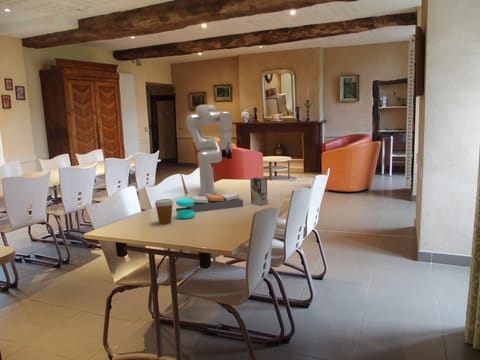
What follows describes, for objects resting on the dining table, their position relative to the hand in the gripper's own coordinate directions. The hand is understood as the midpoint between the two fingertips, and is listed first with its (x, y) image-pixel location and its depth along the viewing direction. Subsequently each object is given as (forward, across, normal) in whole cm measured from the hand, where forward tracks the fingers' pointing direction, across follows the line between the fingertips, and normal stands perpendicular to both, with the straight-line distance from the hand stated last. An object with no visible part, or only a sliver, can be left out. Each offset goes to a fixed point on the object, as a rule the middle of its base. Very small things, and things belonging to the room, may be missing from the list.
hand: (226, 158), depth 256 cm
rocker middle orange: (+24, +12, -13) cm, 29 cm away
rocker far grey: (+24, +12, -3) cm, 27 cm away
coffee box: (+28, +16, +15) cm, 36 cm away
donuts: (+29, +27, -35) cm, 53 cm away
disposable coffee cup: (+28, +34, -48) cm, 65 cm away
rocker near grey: (+24, +12, -23) cm, 35 cm away
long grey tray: (+28, +12, -17) cm, 35 cm away
